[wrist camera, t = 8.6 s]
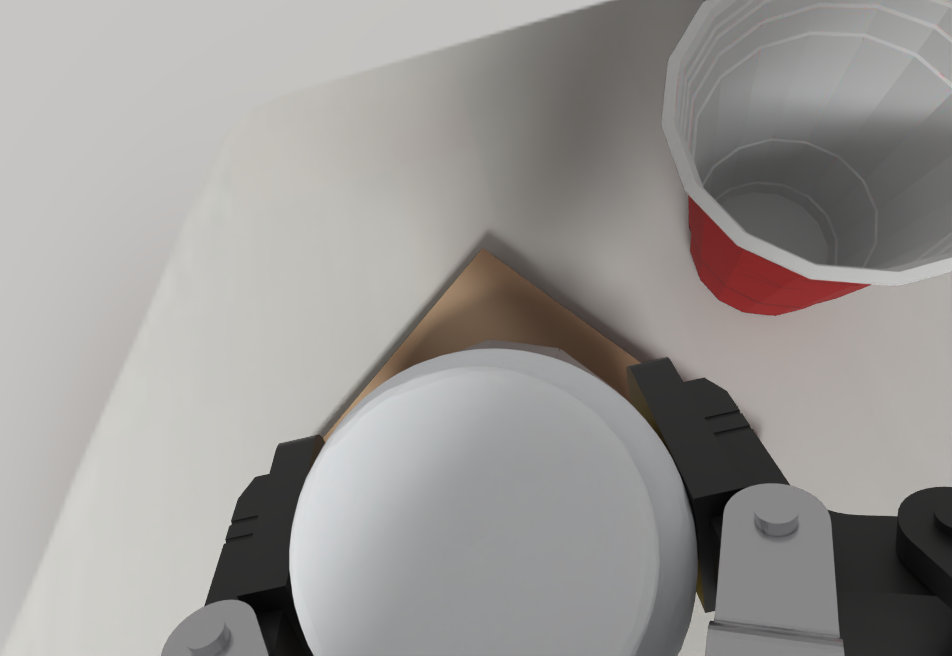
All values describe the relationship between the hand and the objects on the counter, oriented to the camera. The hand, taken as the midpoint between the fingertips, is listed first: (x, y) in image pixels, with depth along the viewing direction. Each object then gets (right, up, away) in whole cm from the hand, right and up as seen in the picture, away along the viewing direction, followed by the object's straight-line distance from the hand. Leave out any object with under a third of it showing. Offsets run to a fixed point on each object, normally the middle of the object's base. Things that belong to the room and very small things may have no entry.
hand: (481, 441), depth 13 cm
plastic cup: (+12, +5, +18) cm, 22 cm away
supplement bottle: (+1, -3, +4) cm, 5 cm away
